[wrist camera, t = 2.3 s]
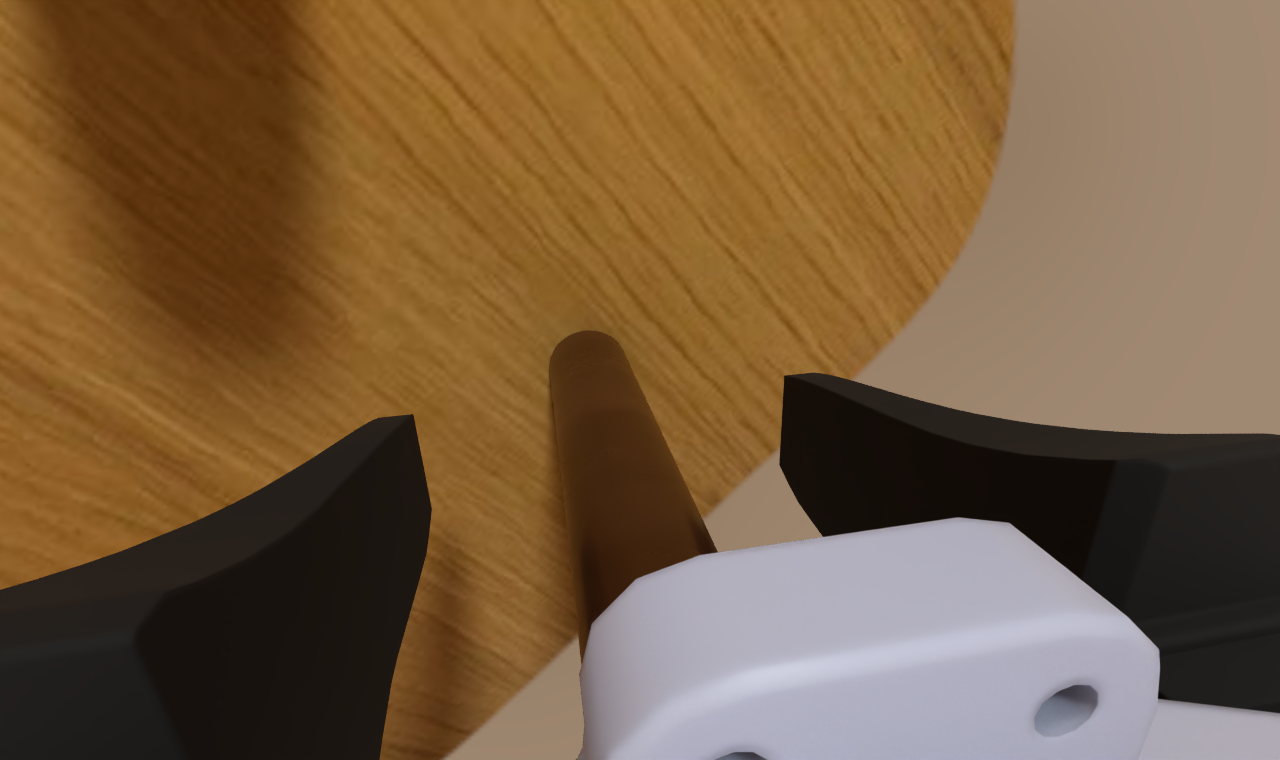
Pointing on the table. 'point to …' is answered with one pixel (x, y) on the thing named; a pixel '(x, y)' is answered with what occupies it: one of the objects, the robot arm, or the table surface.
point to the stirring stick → (615, 478)
